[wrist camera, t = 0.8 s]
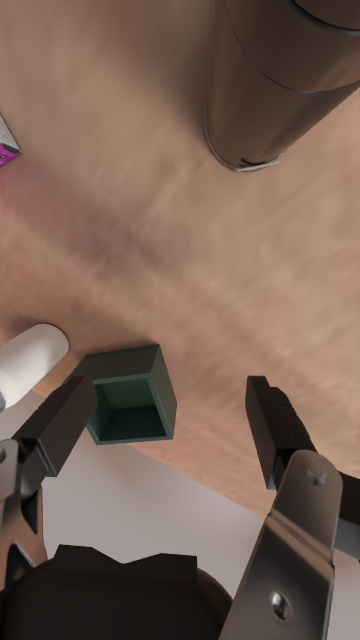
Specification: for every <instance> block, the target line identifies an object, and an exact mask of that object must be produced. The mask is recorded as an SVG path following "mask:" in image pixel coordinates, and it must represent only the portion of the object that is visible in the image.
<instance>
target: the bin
mask: <svg viewBox="0 0 360 640" xmlns="http://www.w3.org/2000/svg"><path fill="white" fill-rule="evenodd" d="M73 375H90V376H91V378H92V381H93V385H94V388H95V392H96V395H97V405H96V408H95V410H94V412H93V414H92V416H91V418H90V419H89V421H88V423H87V425H86V427H87V429H88V431H89V433H90V434H91V436H92V438H93V440H94V441H95V443H96V445H103V444H116V443H130V442H144V441H157V440H170V439H173V436H174V427H175V418H176V409H177V402H176V398H175V395H174V392H173V388H172V385H171V382H170V378H169V375H168V372H167V368H166V365H165V362H164V358H163V355H162V352H161V348H160V345H159V344H158V345H151V346H145V347H138V348H131V349H125V350H118V351H112V352H105V353H99V354H92V355H86V356H85V357H84V359H83V360H82V361H81V362H80V363H79V365H78V366H77V367H76V368H75V369H74V370H73V372H72V373H71V374H70V375H69V376H68V377H67V379H66V380H65V381H64V382H63V383H62V385H65V384H66V382H67V381H68V380H69V379H70V378H71V377H72V376H73Z"/></svg>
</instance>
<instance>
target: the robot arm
mask: <svg viewBox="0 0 360 640" xmlns="http://www.w3.org/2000/svg"><path fill="white" fill-rule="evenodd" d="M359 87H360V0H213V1H212V15H211V30H210V44H209V58H208V73H207V85H206V96H205V102H204V113H203V123H204V132H205V136H206V140H207V143H208V145H209V148H210V150H211V151H212V153H213V155H214V156H215V157H216V159H217V160H218V161H219V162H220V163H221V164H223V165H224V166H225V167H227V168H229V169H231V170H234V171H237V172H253V171H257V170H260V169H262V168H264V167H266V166H270V165H275V164H278V163H279V162H280V161H279V162H274V161H275V160H276V159H278V158H279V157H280V156H281V155H282V154H283V153H284V152H285V151H286V150H287V149H288V148H289V147H290V146H291V145H293V144H294V143H295V142H296V141H297V140H298V139H300V138H301V137H302V136H303V135H304V134H305V133H307V132H308V131H309V130H310V129H311V128H312V127H314V126H315V125H316V124H317V123H318V122H319V121H321V120H322V119H323V118H324V117H325V116H326V115H328V114H329V113H330V112H331V111H332V110H333V109H335V108H336V107H337V106H338V105H339V104H340V103H342V102H343V101H344V100H345V99H346V98H347V97H349V96H350V95H351V94H352V93H353V92H354V91H356V90H357V89H358V88H359ZM273 162H274V163H273ZM96 405H97V395H96V392H95V388H94V385H93V381H92V378H91V376H90V375H73V376H72V377H71V378H70V379H69V380H68V381H67V382H66V384H65V385H62V386H60V387H59V388H57V389H56V390H54V391H53V392H52V393H51V394H50V395H49V396H48V397H47V398H46V400H45V402H43V403H42V404H41V405H40V406H39V408H38V410H36V411H35V412H34V413H33V414H32V415H31V416H30V418H29V419H28V420H27V421H26V422H25V423H24V424H23V425H22V427H21V428H20V429H19V430H18V431H17V432H16V433H15V434H14V435H13V437H12V438H11V439H6V440H3V441H0V640H327V633H328V626H329V618H330V610H331V603H332V595H333V588H334V577H335V567H334V565H333V552H334V549H337V550H339V551H341V552H343V553H345V554H347V555H349V556H352V557H354V558H356V559H358V561H359V563H360V479H358V478H355V477H352V476H349V475H347V474H344V473H342V472H340V471H338V470H337V469H336V468H335V466H334V465H333V464H332V463H331V462H330V461H329V460H328V459H326V458H325V457H324V456H322V455H320V454H318V452H317V451H316V449H315V447H314V445H313V443H312V442H311V440H310V438H309V436H308V434H307V432H306V430H305V429H304V427H303V425H302V423H301V421H300V419H299V418H298V416H297V415H296V412H295V410H294V408H293V407H292V405H291V403H290V401H289V399H288V397H287V395H286V394H284V393H283V392H282V391H281V390H280V389H279V388H278V387H270V386H269V383H268V381H267V379H266V377H265V376H248V378H247V387H246V398H245V406H246V413H247V417H248V420H249V424H250V428H251V431H252V435H253V439H254V442H255V446H256V450H257V454H258V457H259V461H260V465H261V468H262V472H263V476H264V479H265V483H266V487H267V490H276V491H277V495H276V497H275V500H274V502H273V505H272V508H271V510H270V512H269V513H268V514H267V516H266V518H265V521H264V524H263V526H262V528H261V531H260V533H259V536H258V539H257V541H256V544H255V546H254V549H253V551H252V554H251V556H250V559H249V562H248V564H247V567H246V569H245V572H244V575H243V577H242V580H241V582H240V585H239V587H238V590H237V592H236V595H235V598H234V600H233V599H232V597H231V596H230V595H229V594H228V592H227V591H226V590H225V589H224V587H223V586H222V585H221V584H220V583H218V581H217V580H215V579H214V578H213V577H212V576H210V575H209V574H207V573H206V572H205V571H203V570H201V569H199V568H197V556H189V555H178V554H166V553H160V554H157V555H153V556H150V557H146V558H143V559H140V560H136V561H133V562H129V563H125V564H122V563H119V562H117V561H116V560H114V559H112V558H110V557H108V556H107V555H105V554H103V553H101V552H99V551H97V550H96V549H94V548H92V547H84V546H72V545H61V544H59V546H58V549H57V551H56V553H55V555H54V558H52V559H49V560H48V559H47V553H46V549H45V546H44V541H43V507H42V505H43V504H42V486H41V483H42V481H43V479H44V478H45V477H57V476H58V474H59V472H60V470H61V468H62V466H63V465H64V463H65V461H66V460H67V458H68V456H69V454H70V453H71V451H72V449H73V447H74V446H75V444H76V442H77V440H78V439H79V437H80V435H81V433H82V431H83V430H84V428H85V426H86V425H87V423H88V421H89V419H90V418H91V416H92V414H93V412H94V410H95V408H96Z"/></svg>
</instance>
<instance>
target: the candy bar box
mask: <svg viewBox="0 0 360 640" xmlns="http://www.w3.org/2000/svg"><path fill="white" fill-rule="evenodd" d="M21 153H22V152H21V150H20V148H19V146H18V144H17V142H16V140H15V139H14V137H13V136H12V134H11V132H10V131H9V129H8V127H7V125H6V123H5V121H4V119H3V118H2V116H1V114H0V167H1V166H2V165H4V164H5V163H7V162H8V161H10V160H12V159H13V158H15V157H16V156H18V155H19V154H21Z"/></svg>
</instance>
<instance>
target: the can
mask: <svg viewBox="0 0 360 640" xmlns="http://www.w3.org/2000/svg"><path fill="white" fill-rule="evenodd" d="M68 349H69V344H68V340H67V337H66V336H65V334H64V333H63V332H62V331H61V330H60V329H58V328H57V327H55V326H52V325H49V324H37V325H35V326H33V327H31V328H30V329H28V330H26V331H25V332H23V333H21V334H20V335H18V336H16V337H15V338H13V339H12V340H10V341H8V342H7V343H5V344H3V345H2V346H0V413H1V412H2V411H3V410H4V409H5V408H8V407H10V406H12V405H14V404H15V403H17V402H18V401H19V400H20V399H21V398H22V397H23V396H24V395H25V394H26V393H27V392H28V391H29V390H30V389H31V388H32V387H33V386H34V385H36V384H37V383H38V382H39V381H40V380H41V379H42V378H43V377H44V376H45V375H46V374H47V373H48V372H49V371H50V370H51V369H52V368H53V367H54V366H55V365H56V364H57V363H58V362H59V361H60V360H61V359H62V358H63V357H64V356H65V355H66V354H67V352H68Z"/></svg>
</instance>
